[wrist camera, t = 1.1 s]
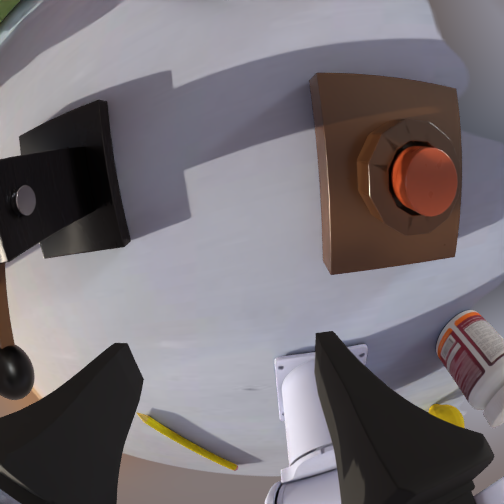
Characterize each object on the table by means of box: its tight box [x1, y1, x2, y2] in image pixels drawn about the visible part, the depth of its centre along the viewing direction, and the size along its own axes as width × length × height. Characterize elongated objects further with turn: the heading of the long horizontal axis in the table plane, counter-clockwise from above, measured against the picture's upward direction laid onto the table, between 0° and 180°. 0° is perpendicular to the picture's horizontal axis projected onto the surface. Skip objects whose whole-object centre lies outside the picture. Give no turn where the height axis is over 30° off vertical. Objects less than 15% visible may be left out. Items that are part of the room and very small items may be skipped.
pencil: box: [136, 412, 238, 471], centre depth 28 cm, size 16×1×1 cm
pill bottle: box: [436, 310, 504, 428], centre depth 17 cm, size 6×6×11 cm
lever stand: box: [0, 100, 130, 263], centre depth 12 cm, size 10×8×10 cm
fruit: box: [428, 404, 464, 428], centre depth 23 cm, size 6×6×8 cm
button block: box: [309, 73, 462, 275], centre depth 15 cm, size 12×10×4 cm
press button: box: [391, 146, 457, 217], centre depth 13 cm, size 4×4×2 cm
